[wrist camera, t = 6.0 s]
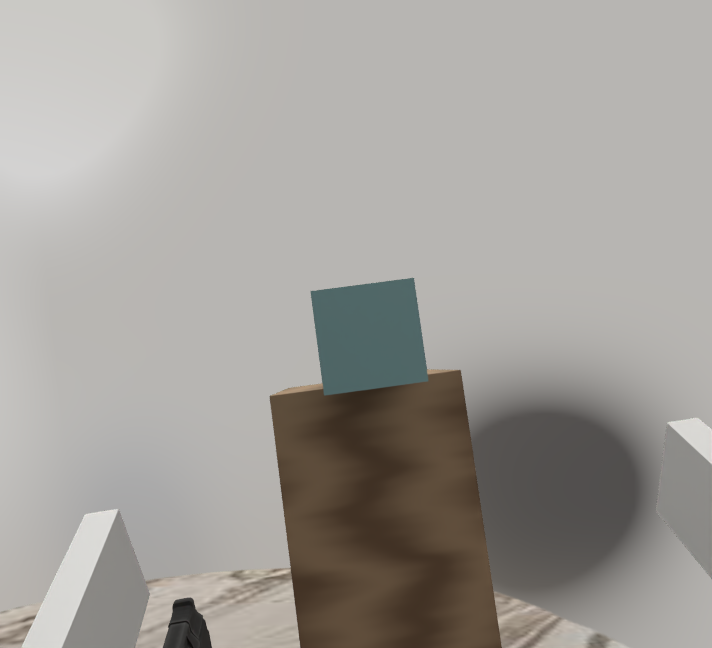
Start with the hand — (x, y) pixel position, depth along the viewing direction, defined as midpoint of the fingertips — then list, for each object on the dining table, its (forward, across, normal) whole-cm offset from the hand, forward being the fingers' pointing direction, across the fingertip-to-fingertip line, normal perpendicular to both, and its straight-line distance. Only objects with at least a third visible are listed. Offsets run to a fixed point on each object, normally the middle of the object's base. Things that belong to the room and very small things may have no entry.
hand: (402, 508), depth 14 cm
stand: (+6, 0, +34) cm, 35 cm away
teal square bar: (+18, 0, +6) cm, 19 cm away
